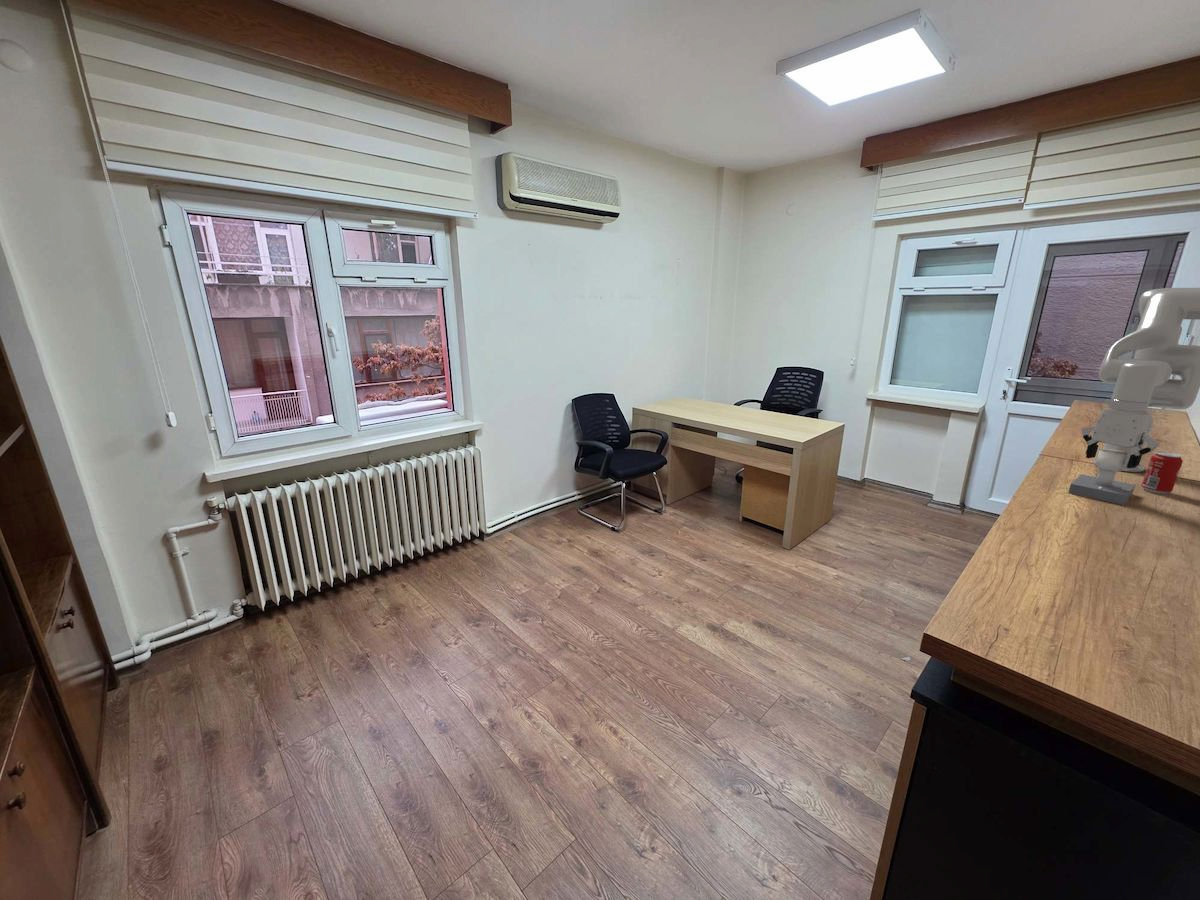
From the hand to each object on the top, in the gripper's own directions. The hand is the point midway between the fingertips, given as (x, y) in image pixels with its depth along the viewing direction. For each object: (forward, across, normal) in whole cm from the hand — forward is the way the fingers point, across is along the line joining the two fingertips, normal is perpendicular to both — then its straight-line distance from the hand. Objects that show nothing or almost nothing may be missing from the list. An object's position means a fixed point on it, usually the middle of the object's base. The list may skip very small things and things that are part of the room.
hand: (1110, 462), depth 144 cm
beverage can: (+10, +4, +18) cm, 21 cm away
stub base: (+10, 0, 0) cm, 10 cm away
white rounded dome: (+2, 0, 0) cm, 2 cm away
